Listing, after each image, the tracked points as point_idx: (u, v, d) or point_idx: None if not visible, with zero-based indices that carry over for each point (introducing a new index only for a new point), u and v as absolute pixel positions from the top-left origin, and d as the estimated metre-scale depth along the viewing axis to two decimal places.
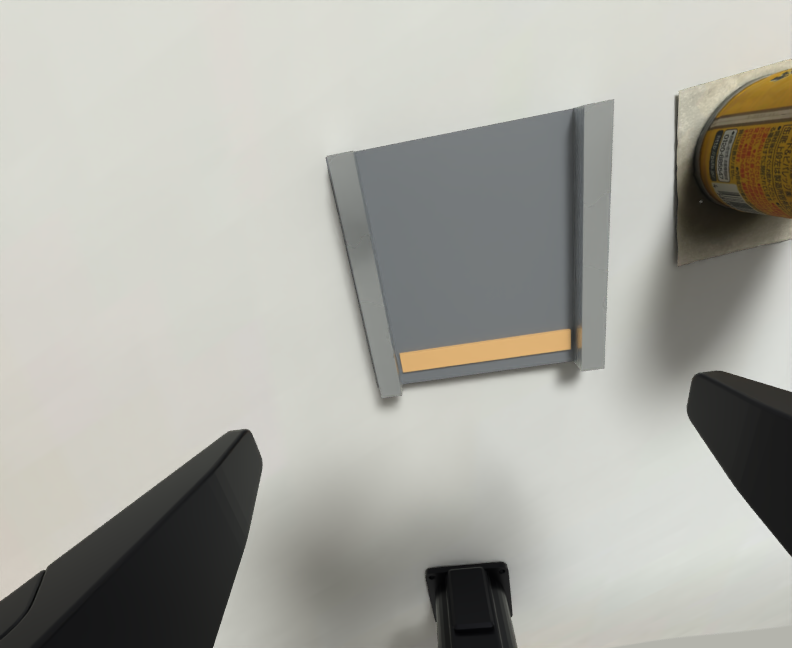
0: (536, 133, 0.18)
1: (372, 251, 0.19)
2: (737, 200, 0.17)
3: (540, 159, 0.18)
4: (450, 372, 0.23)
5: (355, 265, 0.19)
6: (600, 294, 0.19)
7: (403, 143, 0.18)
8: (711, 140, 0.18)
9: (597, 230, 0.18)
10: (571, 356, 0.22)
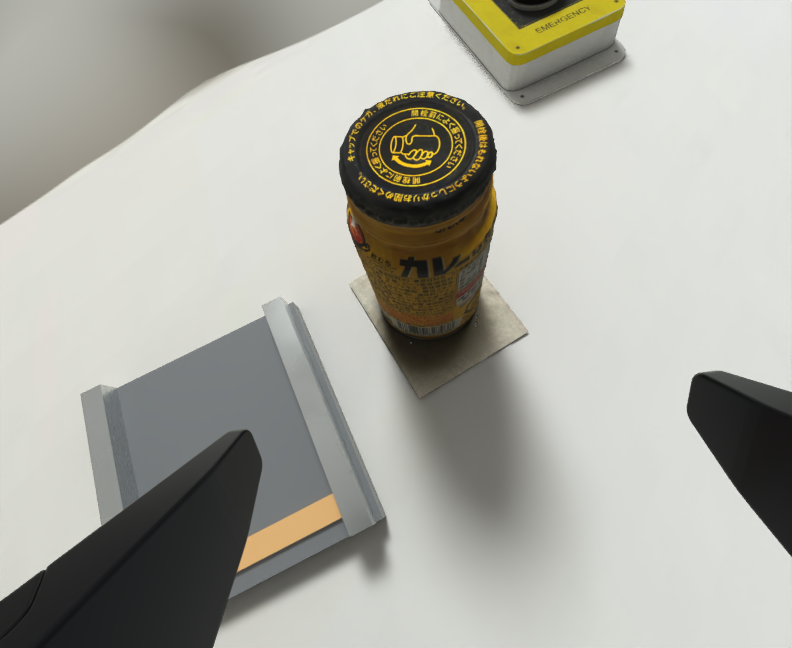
0: (249, 335, 0.23)
1: (114, 462, 0.20)
2: (405, 326, 0.21)
3: (257, 350, 0.23)
4: None
5: (97, 481, 0.20)
6: (331, 439, 0.19)
7: (152, 371, 0.23)
8: None
9: (304, 383, 0.20)
10: None
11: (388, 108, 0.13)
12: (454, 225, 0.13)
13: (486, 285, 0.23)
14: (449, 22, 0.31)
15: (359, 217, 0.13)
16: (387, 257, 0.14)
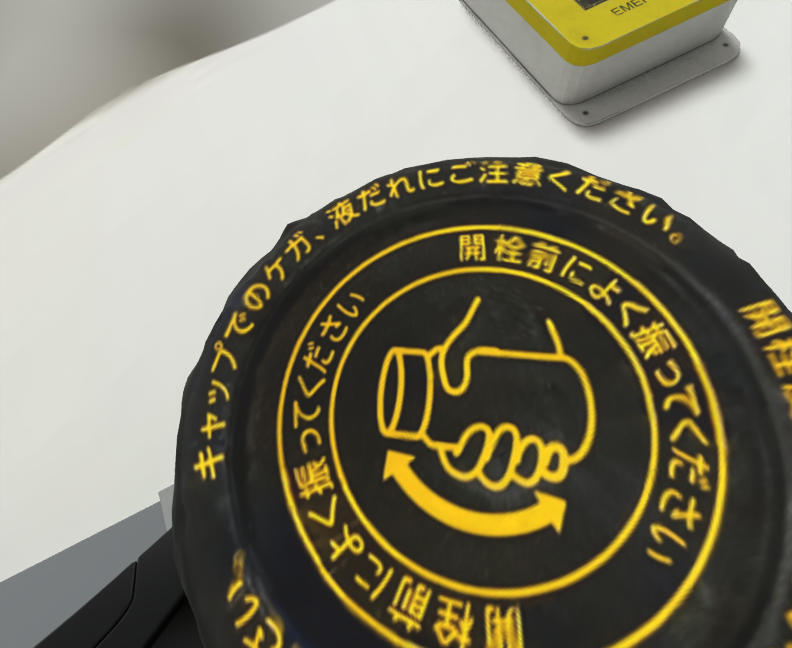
0: (143, 532, 0.13)
1: None
2: None
3: None
4: None
5: None
6: None
7: None
8: None
9: None
10: None
11: (370, 226, 0.04)
12: None
13: None
14: (470, 5, 0.22)
15: None
16: None
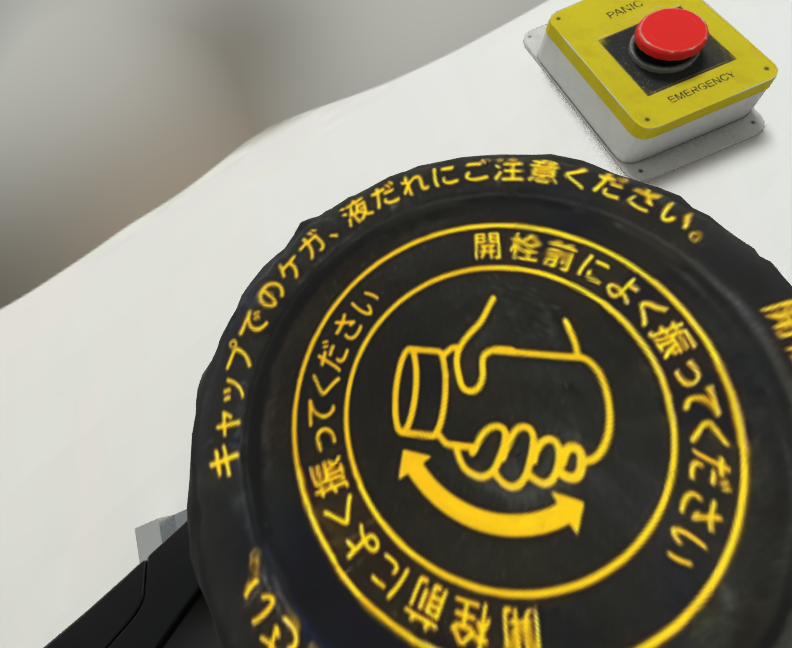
0: None
1: None
2: None
3: None
4: None
5: None
6: None
7: None
8: None
9: None
10: None
11: (384, 224, 0.03)
12: None
13: None
14: (550, 72, 0.27)
15: None
16: None
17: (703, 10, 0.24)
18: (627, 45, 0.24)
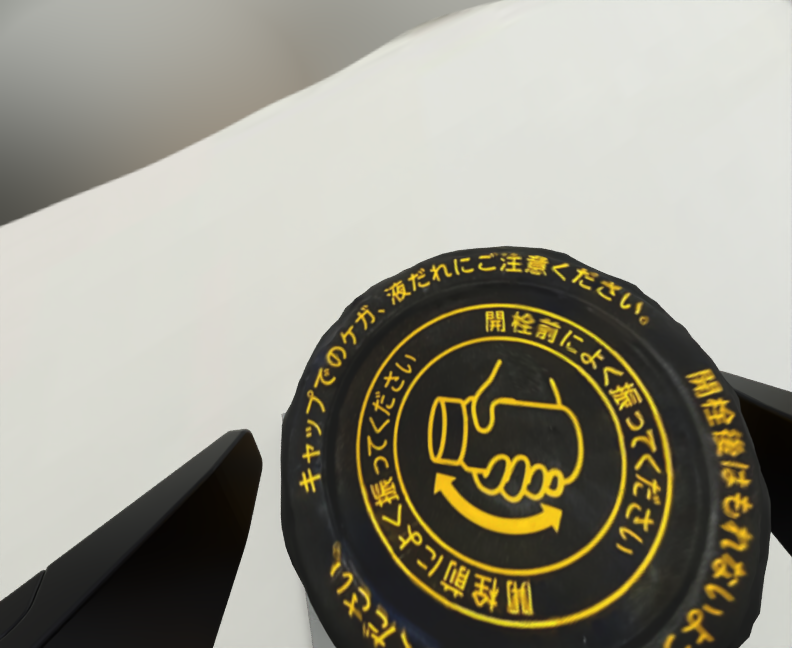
0: None
1: None
2: None
3: None
4: None
5: None
6: None
7: None
8: None
9: None
10: None
11: (418, 303, 0.05)
12: None
13: None
14: None
15: None
16: None
17: None
18: None
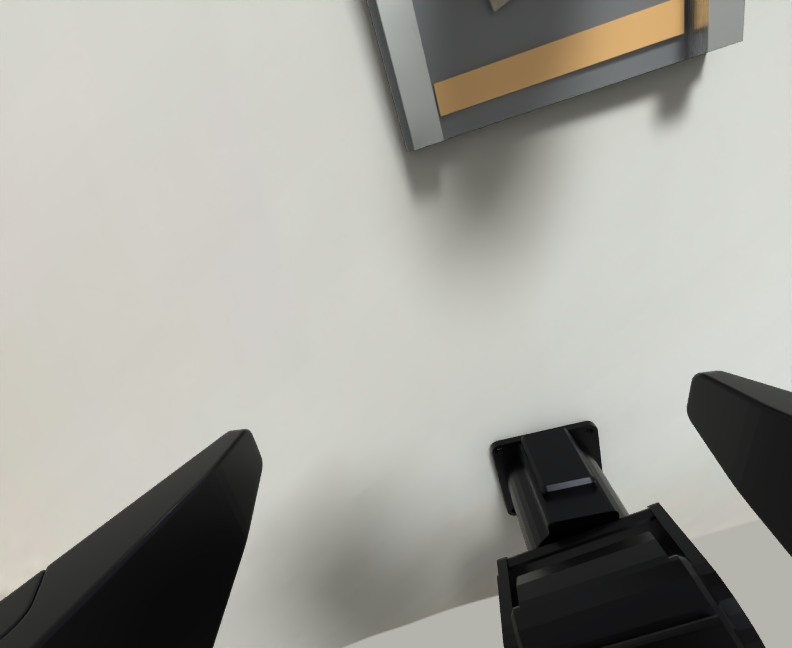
0: None
1: None
2: None
3: None
4: (507, 109, 0.16)
5: None
6: None
7: None
8: None
9: None
10: (683, 50, 0.15)
11: None
12: None
13: None
14: None
15: None
16: None
17: None
18: None
